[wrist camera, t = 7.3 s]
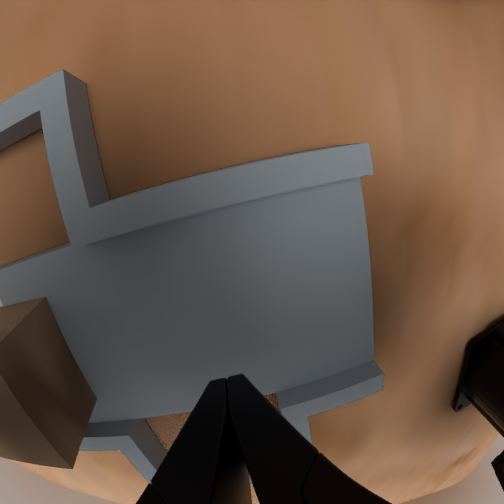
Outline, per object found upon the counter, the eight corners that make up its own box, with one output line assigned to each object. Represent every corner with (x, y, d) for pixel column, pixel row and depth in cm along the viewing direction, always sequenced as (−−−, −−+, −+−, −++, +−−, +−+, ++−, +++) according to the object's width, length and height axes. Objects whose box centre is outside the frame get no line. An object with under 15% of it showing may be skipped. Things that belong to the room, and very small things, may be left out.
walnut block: (97, 399, 11) (72, 469, 7) (9, 400, 11) (-21, 451, 7) (45, 296, 9) (-11, 354, 6) (-38, 315, 9) (-85, 357, 5)
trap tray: (314, 33, 9) (334, 12, 7) (363, 420, 15) (377, 443, 13) (-82, 189, 8) (-106, 195, 6) (58, 467, 13) (52, 488, 12)
